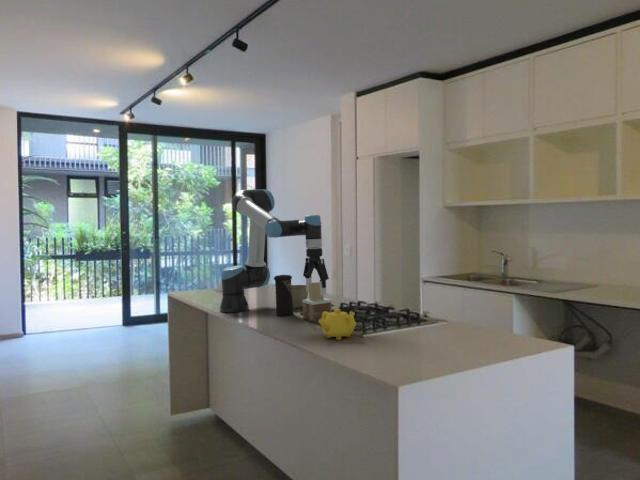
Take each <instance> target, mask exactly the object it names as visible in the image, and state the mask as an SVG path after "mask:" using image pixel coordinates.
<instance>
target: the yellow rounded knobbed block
mask: <svg viewBox="0 0 640 480" xmlns="http://www.w3.org/2000/svg"><path fill="white" fill-rule="evenodd" d="M355 314H356V313H355V311H352V310H351V311H350V312H349V314H348V312H346V311H341V308H334V309H333V311H332V312H330V313H329V312H327V311H324V312H323V313H322V318H321V319H320V320H319V321H318V323H319V324H320V325H321V331H322V332H323V334H324V335H325V336H326V339H331V338H332V337H333V338H335V340H337V341H340V340H342V337H345V338H351V337H352V336H351V335H352V333H353V332H354V330H355V327H357V323H356V321H355V317H354V316H355Z"/></svg>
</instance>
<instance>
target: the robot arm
mask: <svg viewBox="0 0 640 480" xmlns="http://www.w3.org/2000/svg"><path fill="white" fill-rule="evenodd" d="M232 197H233V198H232V200H231V203H232V207H233V210H234V211H235V212H237V213H238V214H239V215H243V216H246V217H247V218H249V234H248V250H247V251H248V254H247V255H248V256H247V260H246V261H245V262H244V266H243V265H242V264H241V265H232V266H227V267H225V268H223V269H222V270H221V274H220V275H221V277H220V278H221V290H222V298H221V302H220V305H219V306H220V307H219V311H220V312H221V313H225V312H233V313H241V312H242V313H243V312H246V311H248V310H249V304H248V300H247V298H246V295H245V290H247V289H255V288H261V287H265V286H266V285H267V284H268V283H269V282H270V278H271V271H270V268H269V267H268V265H267V263H266V262H265V261H264V260H265V259H264V258H265V247H266V246H265V245H266V244H265V243H266V236H267V237H268V238H276V239H277V238H285V237H294V236H305V248H306V251H305V254H306V257H305V263H304V269H303V273H302V274H303V275H302V276H303V277H304V278H305V285H306V290H307V292H308V293H309V283H313V282H312V281H313V277H312V275H313V271H314V270H316V272H317V275H318V277H319V282H320V295H324V296H325V295H327V281H328V280H329V274H328V270H327V267H326V264H325V259H324V258H321V257H323V249H322V247H323V239H322V235H323V234H322V221H321V220H322V219H321V216H320V215H318V214H315V215H314V214H310V215H304V219H294V220H293V219H291V220H280V219H278V218H277V217H276V216H274V215H272V214H271V213H270V212H271V211H273V210H274V209H275V204H276V202H275V197H274V195H273V193H272V192H271V190H268V189H255V188H254V189H240V190H238V191H237V192H236V193H235V194H234V195H233V196H232Z"/></svg>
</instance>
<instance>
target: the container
mask: <svg viewBox="0 0 640 480" xmlns="http://www.w3.org/2000/svg"><path fill="white" fill-rule="evenodd" d="M292 279H293V276H292V275H290V274H279V275H275V276H273V280H274V283H275V284H274V285H275V308H276V309H275V310H276V311H275V315H276V316H277V317H289V316H292V315H294V308H293V301H292V287H291V285H292Z"/></svg>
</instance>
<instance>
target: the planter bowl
mask: <svg viewBox="0 0 640 480" xmlns="http://www.w3.org/2000/svg"><path fill="white" fill-rule="evenodd" d="M291 287H292V301H293V309H296V308H297V309H298V308H303V305H302V300H304V299H308V296H309V292H307V290H306V284H293V285H292V284H291Z"/></svg>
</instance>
